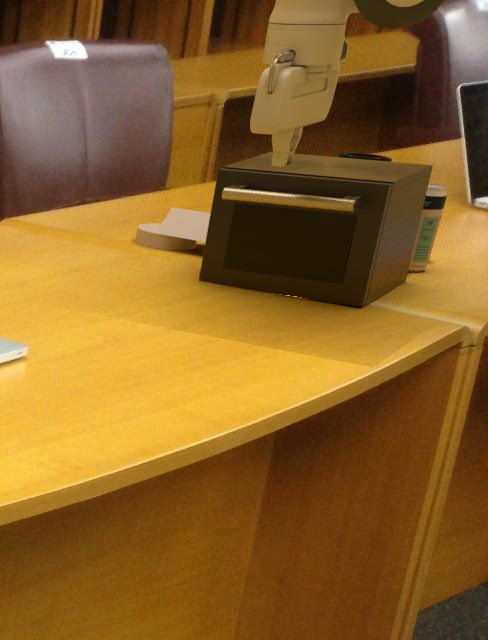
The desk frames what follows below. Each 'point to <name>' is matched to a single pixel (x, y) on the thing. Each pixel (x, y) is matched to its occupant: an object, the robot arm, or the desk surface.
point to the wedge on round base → (175, 230)
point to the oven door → (295, 234)
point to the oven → (400, 210)
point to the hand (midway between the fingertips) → (281, 165)
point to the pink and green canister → (428, 227)
